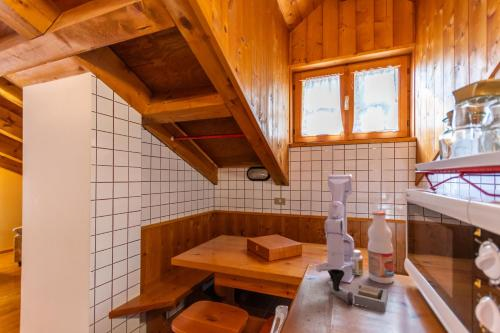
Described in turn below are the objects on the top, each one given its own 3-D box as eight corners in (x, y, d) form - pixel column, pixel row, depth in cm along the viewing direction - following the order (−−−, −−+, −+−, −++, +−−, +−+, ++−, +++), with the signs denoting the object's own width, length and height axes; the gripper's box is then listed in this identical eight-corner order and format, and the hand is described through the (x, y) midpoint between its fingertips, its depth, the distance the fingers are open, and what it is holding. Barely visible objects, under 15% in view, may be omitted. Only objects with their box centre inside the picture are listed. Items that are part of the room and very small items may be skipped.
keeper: (354, 305, 84) (353, 293, 84) (350, 306, 84) (350, 294, 84) (331, 290, 95) (331, 279, 95) (328, 291, 95) (328, 280, 95)
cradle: (359, 292, 94) (359, 283, 94) (387, 298, 89) (387, 289, 89) (354, 304, 85) (354, 295, 85) (384, 312, 80) (384, 302, 80)
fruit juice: (370, 273, 111) (368, 210, 112) (395, 277, 106) (392, 211, 107) (367, 280, 103) (364, 212, 104) (393, 286, 98) (390, 214, 99)
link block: (362, 296, 91) (362, 285, 91) (381, 301, 87) (380, 289, 87) (358, 302, 87) (358, 290, 87) (377, 307, 83) (377, 295, 83)
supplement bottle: (362, 271, 114) (361, 249, 114) (364, 275, 108) (363, 253, 109) (349, 270, 115) (348, 248, 115) (350, 274, 110) (350, 252, 110)
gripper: (322, 256, 85) (323, 297, 84) (359, 253, 88) (361, 293, 88) (312, 250, 92) (313, 288, 91) (347, 248, 95) (348, 284, 95)
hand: (336, 290), depth 90 cm, fingers closed, pressing on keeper
